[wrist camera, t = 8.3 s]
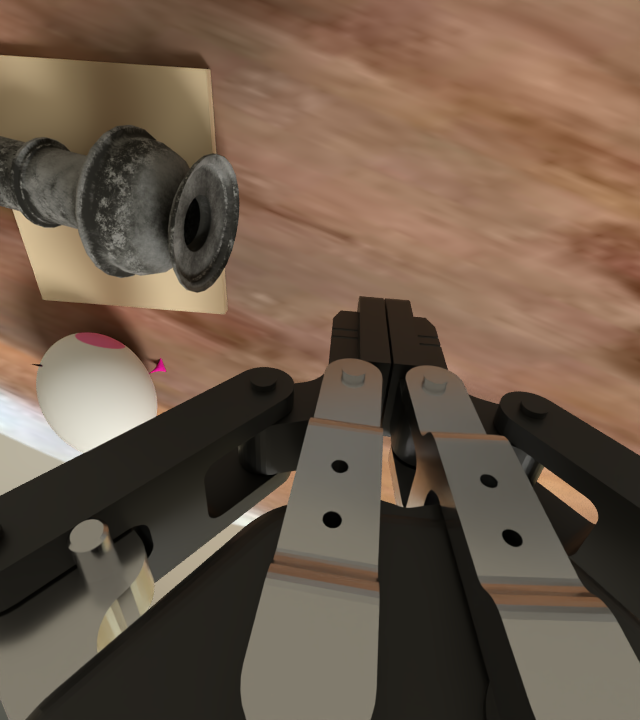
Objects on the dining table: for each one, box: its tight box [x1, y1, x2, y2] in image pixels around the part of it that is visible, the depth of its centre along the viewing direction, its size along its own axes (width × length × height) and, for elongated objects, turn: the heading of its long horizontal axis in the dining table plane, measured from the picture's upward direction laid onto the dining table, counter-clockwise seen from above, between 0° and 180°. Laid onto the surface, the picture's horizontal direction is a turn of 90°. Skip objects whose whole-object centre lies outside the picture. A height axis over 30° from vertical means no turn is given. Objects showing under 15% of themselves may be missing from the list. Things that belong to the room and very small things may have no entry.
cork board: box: [0, 55, 228, 314], centre depth 21 cm, size 10×11×1 cm
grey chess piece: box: [0, 125, 239, 293], centre depth 18 cm, size 6×6×12 cm
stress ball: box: [32, 332, 166, 453], centre depth 25 cm, size 8×8×7 cm
